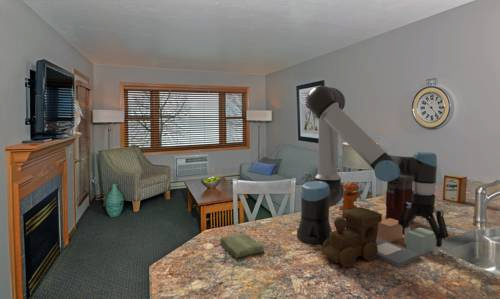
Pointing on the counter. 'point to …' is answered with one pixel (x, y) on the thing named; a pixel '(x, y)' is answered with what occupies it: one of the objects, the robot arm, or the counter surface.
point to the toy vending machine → (398, 196)
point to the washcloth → (241, 245)
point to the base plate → (394, 253)
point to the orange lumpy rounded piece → (349, 196)
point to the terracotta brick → (389, 230)
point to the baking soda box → (454, 188)
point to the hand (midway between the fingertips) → (420, 248)
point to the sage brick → (420, 240)
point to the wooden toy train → (353, 236)
